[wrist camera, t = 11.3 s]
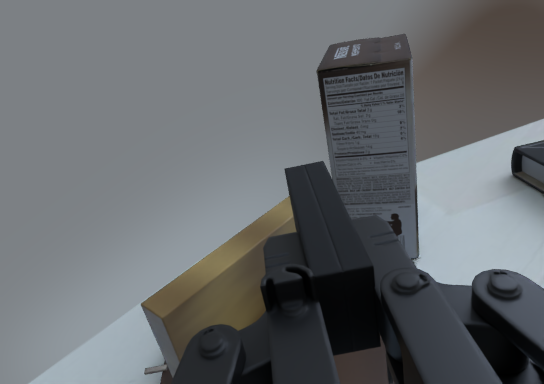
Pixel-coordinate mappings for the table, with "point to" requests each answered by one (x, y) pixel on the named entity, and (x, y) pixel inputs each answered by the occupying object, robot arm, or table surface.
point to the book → (529, 164)
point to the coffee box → (373, 131)
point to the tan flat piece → (216, 287)
